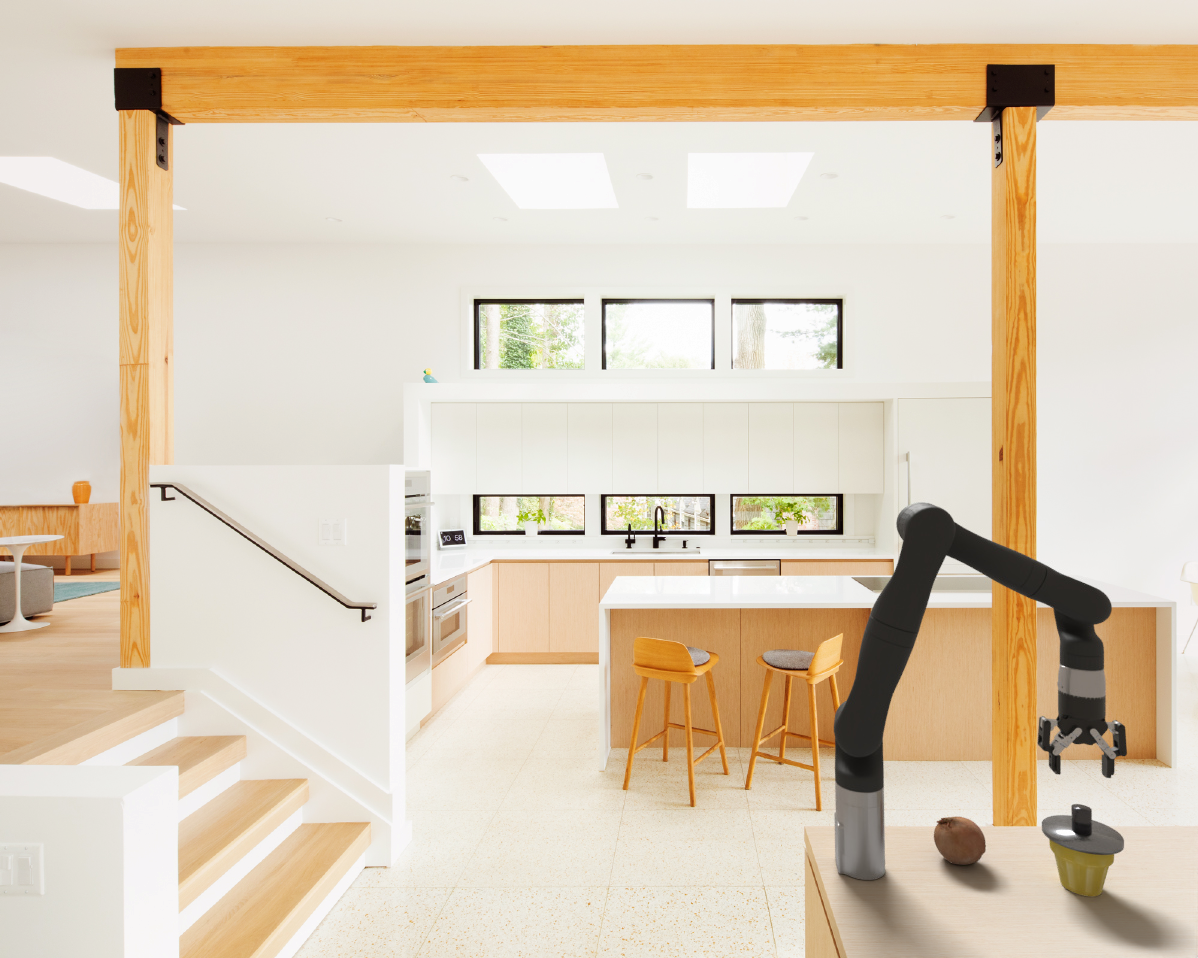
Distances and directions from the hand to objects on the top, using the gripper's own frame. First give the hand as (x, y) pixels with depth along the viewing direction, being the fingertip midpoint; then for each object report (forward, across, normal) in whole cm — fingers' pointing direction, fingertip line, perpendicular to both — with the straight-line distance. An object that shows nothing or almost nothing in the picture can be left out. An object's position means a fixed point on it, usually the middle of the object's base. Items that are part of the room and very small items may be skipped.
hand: (1081, 774), depth 138 cm
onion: (+22, -20, +6) cm, 30 cm away
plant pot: (+22, 0, 0) cm, 22 cm away
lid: (+12, 0, 0) cm, 12 cm away
